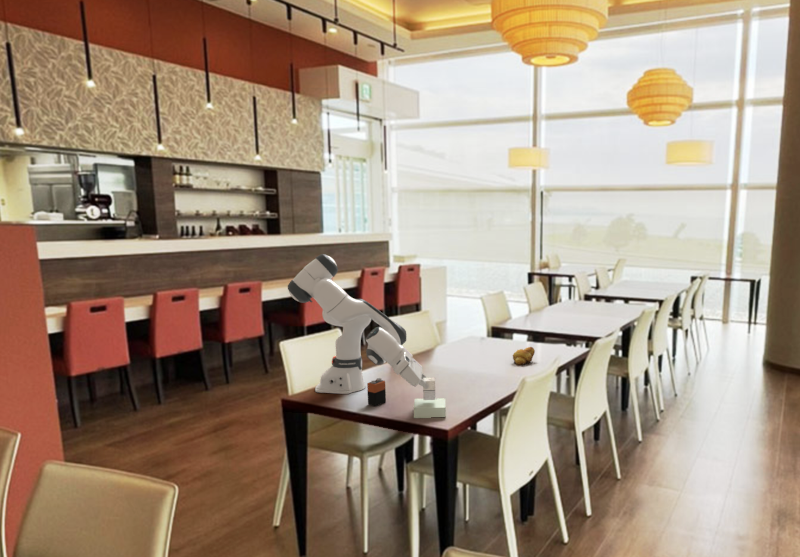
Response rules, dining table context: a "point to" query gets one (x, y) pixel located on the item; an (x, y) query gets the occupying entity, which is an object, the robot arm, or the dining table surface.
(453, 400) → the dining table surface
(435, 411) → the stand
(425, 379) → the block
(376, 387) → the battery
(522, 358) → the bread roll
